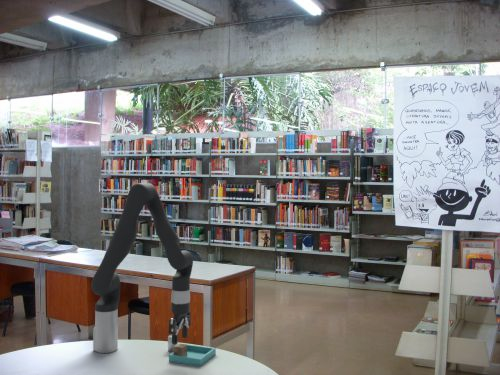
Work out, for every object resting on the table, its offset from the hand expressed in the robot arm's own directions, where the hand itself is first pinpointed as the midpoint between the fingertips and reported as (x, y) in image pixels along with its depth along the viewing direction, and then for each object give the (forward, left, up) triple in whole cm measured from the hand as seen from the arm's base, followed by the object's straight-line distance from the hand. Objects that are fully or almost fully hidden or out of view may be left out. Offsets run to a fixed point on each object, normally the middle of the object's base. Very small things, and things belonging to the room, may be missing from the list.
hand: (179, 340), depth 203 cm
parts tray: (+4, +3, -8) cm, 9 cm away
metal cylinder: (-8, +8, -8) cm, 13 cm away
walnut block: (0, 0, -7) cm, 7 cm away
